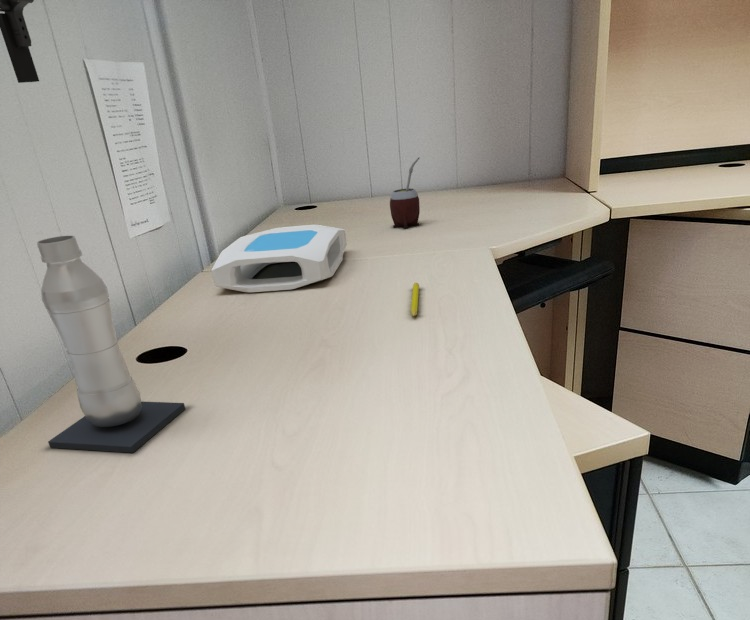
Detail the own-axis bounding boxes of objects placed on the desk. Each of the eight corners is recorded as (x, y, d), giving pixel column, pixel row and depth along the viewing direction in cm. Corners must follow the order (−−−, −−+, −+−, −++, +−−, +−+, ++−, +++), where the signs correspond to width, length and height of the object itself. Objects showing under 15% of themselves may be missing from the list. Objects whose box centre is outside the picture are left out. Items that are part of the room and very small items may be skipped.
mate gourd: (392, 224, 164) (387, 157, 155) (424, 221, 162) (420, 153, 154) (390, 230, 157) (384, 160, 149) (423, 227, 156) (419, 157, 148)
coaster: (50, 447, 74) (47, 441, 73) (109, 405, 83) (107, 399, 82) (133, 453, 71) (130, 446, 70) (185, 408, 79) (184, 402, 79)
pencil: (413, 288, 113) (413, 282, 112) (419, 288, 113) (418, 282, 112) (410, 319, 99) (410, 312, 98) (417, 318, 99) (416, 312, 98)
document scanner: (348, 251, 143) (344, 221, 139) (326, 287, 119) (321, 251, 116) (254, 259, 146) (248, 229, 142) (215, 295, 123) (207, 261, 119)
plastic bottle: (113, 407, 80) (54, 233, 69) (158, 411, 77) (104, 231, 67) (75, 431, 75) (5, 247, 64) (122, 436, 72) (57, 246, 62)
